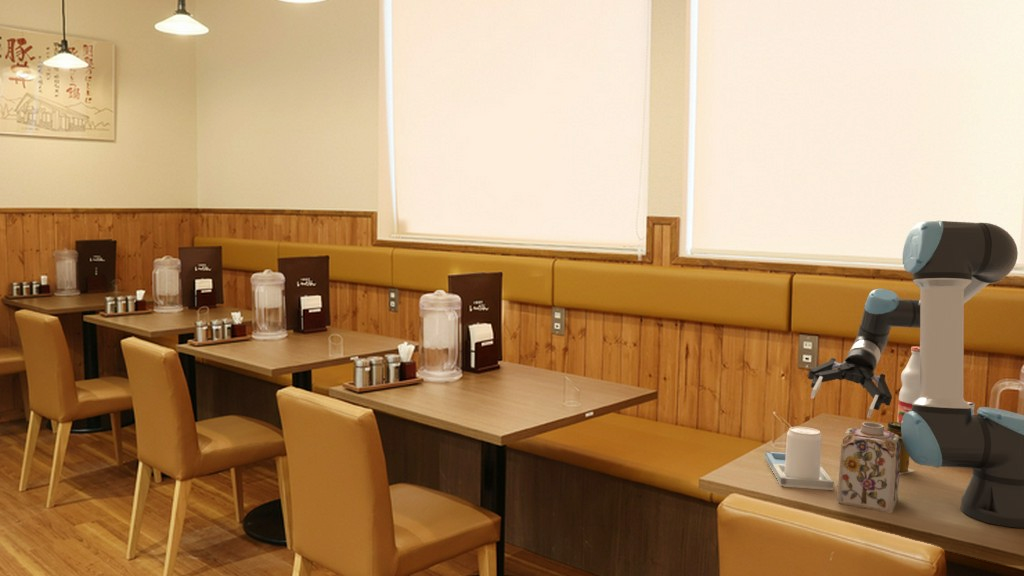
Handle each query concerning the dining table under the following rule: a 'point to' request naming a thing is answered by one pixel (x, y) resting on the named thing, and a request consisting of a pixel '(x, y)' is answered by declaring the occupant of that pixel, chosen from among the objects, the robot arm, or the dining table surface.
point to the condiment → (904, 457)
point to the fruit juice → (909, 384)
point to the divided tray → (778, 468)
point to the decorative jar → (869, 468)
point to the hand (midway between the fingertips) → (840, 403)
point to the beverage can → (803, 453)
